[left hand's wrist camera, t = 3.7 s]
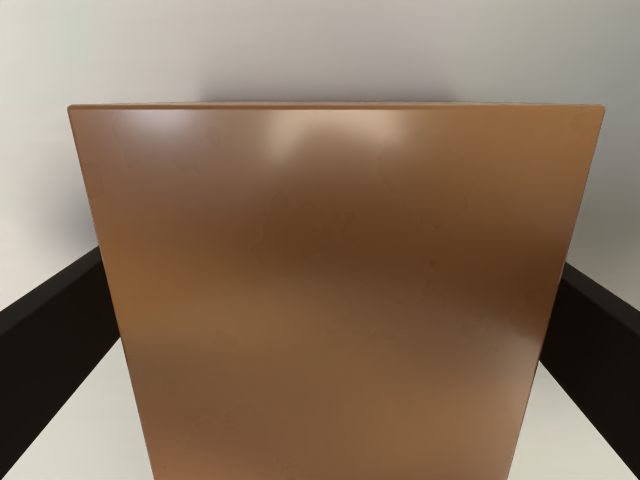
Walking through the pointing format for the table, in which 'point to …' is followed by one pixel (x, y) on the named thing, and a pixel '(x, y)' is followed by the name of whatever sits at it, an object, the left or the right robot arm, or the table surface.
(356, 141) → the slab
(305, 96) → the table surface
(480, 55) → the table surface
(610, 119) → the table surface
